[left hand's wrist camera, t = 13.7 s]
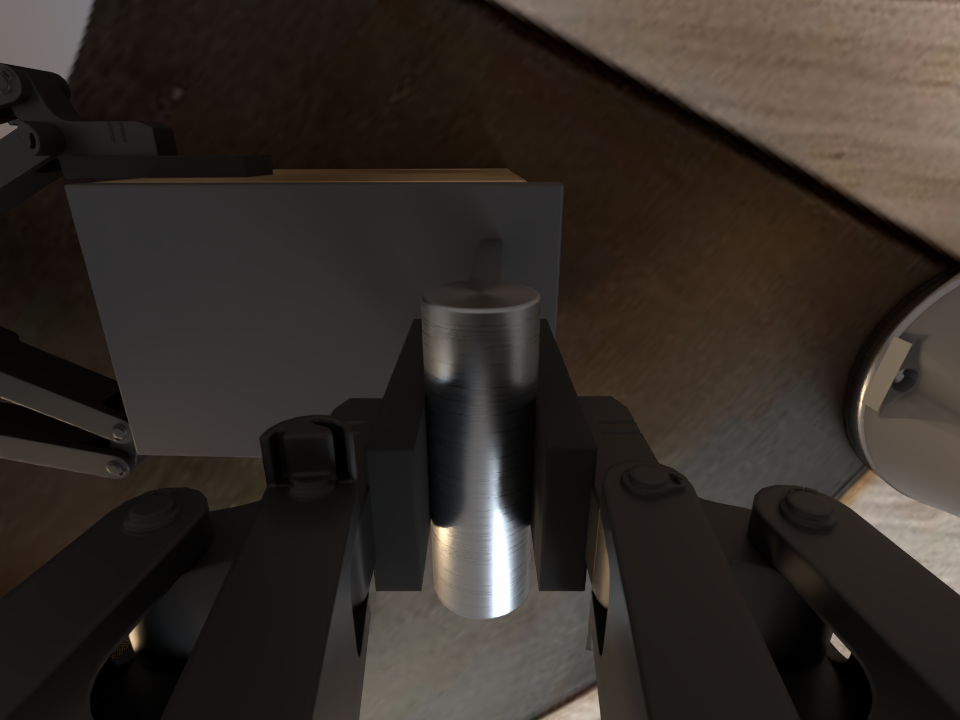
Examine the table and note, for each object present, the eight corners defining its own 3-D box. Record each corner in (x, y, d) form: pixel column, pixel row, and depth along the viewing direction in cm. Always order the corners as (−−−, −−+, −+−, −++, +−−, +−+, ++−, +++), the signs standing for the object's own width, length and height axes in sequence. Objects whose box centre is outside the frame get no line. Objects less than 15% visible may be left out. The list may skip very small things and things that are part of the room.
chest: (507, 168, 27) (528, 180, 17) (505, 338, 30) (521, 437, 20) (237, 169, 27) (88, 181, 17) (264, 340, 30) (154, 440, 20)
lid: (560, 181, 16) (620, 216, 8) (548, 448, 19) (579, 676, 11) (88, 182, 16) (-334, 214, 8) (154, 440, 20) (-99, 649, 12)
